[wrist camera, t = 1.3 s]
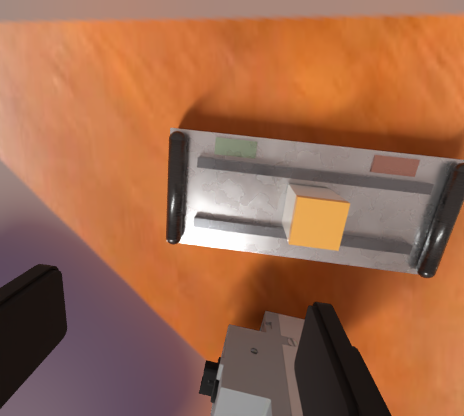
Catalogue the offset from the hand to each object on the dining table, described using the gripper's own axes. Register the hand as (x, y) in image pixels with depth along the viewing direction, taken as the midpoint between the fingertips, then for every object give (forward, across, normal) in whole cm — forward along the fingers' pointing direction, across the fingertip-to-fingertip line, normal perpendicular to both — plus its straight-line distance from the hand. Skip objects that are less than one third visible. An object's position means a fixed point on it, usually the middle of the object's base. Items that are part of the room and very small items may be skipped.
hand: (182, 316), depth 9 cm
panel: (+20, -8, 0) cm, 21 cm away
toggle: (+17, -8, -1) cm, 19 cm away
